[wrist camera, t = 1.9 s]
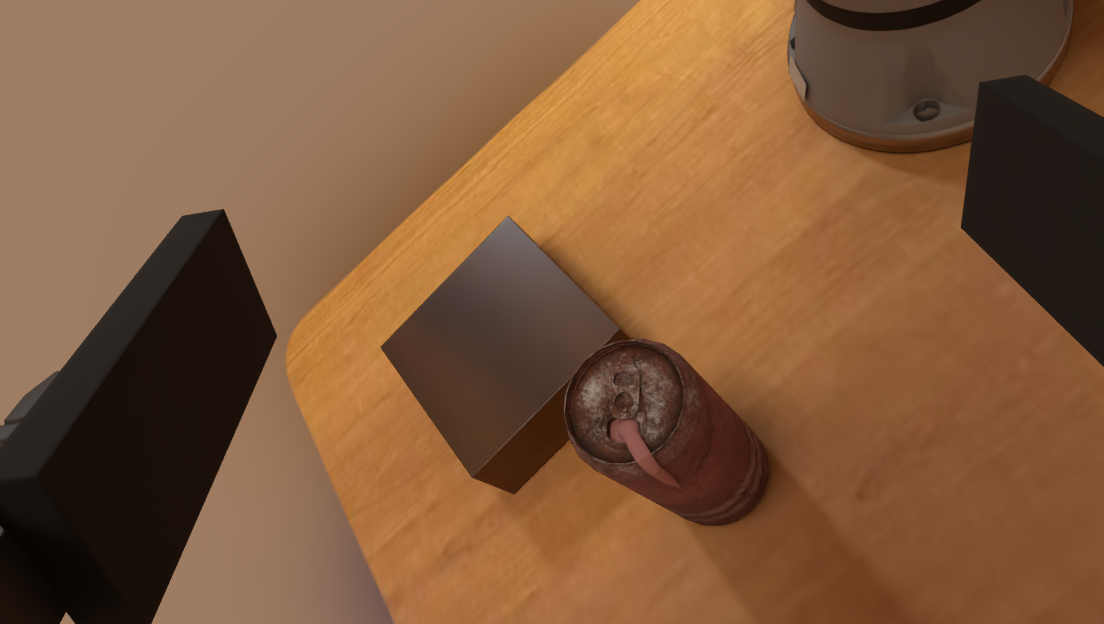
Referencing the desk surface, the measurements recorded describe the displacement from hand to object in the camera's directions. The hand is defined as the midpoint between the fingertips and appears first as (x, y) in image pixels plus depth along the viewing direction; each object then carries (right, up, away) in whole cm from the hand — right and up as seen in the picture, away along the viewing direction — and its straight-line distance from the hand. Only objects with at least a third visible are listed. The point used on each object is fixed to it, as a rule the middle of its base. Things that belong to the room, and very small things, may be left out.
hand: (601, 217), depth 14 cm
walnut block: (-2, -5, +39) cm, 39 cm away
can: (+8, -11, +31) cm, 34 cm away
